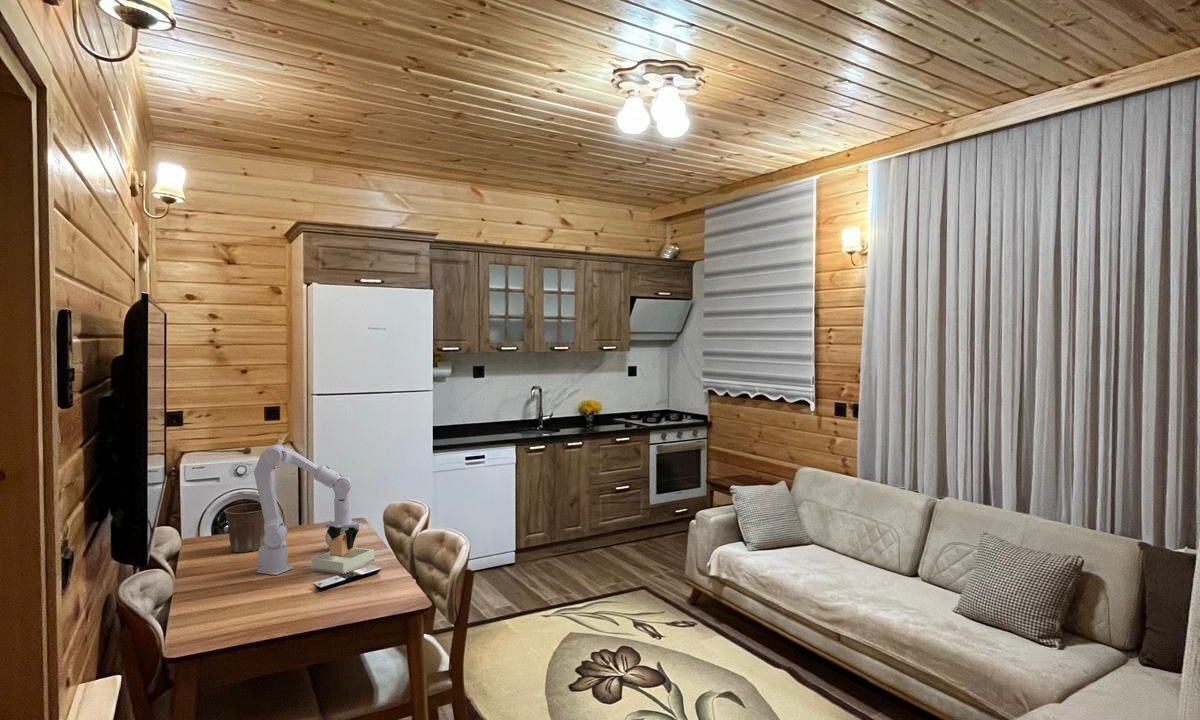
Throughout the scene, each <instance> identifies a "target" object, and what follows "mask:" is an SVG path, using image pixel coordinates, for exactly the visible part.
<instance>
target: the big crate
mask: <svg viewBox="0 0 1200 720" xmlns="http://www.w3.org/2000/svg"><path fill="white" fill-rule="evenodd" d="M310 560H311V571H315V572H317V571H318V572H324V573H331V574H338V575H345V574H347V573H346V572H348V573H350V572H352V571H354V570H356V569H359V568H361V567H363V566H365V565H368V564H370V563H372V562H375V549H370V548H363V547H362V548H361V547H356V550H355V551H353V552H351V553H349V554H347V555H345V556H343V557H338V556H330V551H328V552H325V553H322V554H320V555H317V556H314V557H312V558H311V559H310ZM371 561H372V562H371ZM367 563H368V564H367ZM349 571H350V572H349ZM344 573H345V574H344Z"/></svg>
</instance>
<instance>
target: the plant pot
mask: <svg viewBox="0 0 1200 720" xmlns="http://www.w3.org/2000/svg"><path fill="white" fill-rule="evenodd" d="M223 513H224V514H225V520H226V522H227V528H228V537H229V545H230V551H231V552H232V551H233V552H232V553H236V552H247V553H249V552H257V551H258V550H259V548H260V547H261V546H263V545H265V544H264V541H263V538H264V534H265V531H264V523H265V521H264V516H263V512H262V507H261V503H260V502H257V503H256V502H255V503H253V502H252V503H251V502H250V503H241V504H236V505H232V506H229V507H227V508H225V509H224V510H223ZM256 550H257V551H256Z"/></svg>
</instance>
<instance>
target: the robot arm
mask: <svg viewBox="0 0 1200 720" xmlns="http://www.w3.org/2000/svg"><path fill="white" fill-rule="evenodd" d="M280 463H281V464H282V465H289V464H292V465H295V467H296V466H297V467H298V468H301V469H302V470H305V471H307V472H308V473H310V474H312V475H313V480H315V481H317V482H319V483H321V484H322V485H324V486H325V487H328V488H329V489H332V491H333V492H334V499H333V504H334V506H333V507H334V512H333V513H334V515H333V516H334V520H332V521H330V520H326V521H324V522H323V527H324V528H327V531H326V533H327V532H328V534H329V535H330V537H331V539H334V538H336V537H338V536H340V532H341V528H348V529H349V530H346V531H345V534H346V537H347V548H348V549H352V548H353V544H354V540H355V537H356V538H357V535H358V533H359V531H360V530H362V529H363V522H357V521H354V520H352V492H351V487H352V480H351V478H350V477H349V476H347V475H343V473H341V472H340V473H339V472H337V471H336V470H334V469H331V468H332V467H331V466H330V465H327V466H326V465H325V464H323V465H317V464H316V463H314V462H313V461H311V460H309V459H308V458H306V457H305V456H303V455H302V454H301V453H299V452H297V451H295V450H293V449H292V448H290V447H288V446H287V447H286V446H285V445H283V444H281V443H275V444H272V445H271V446H269V447H268V448H266V449H265V450H264V451H263V452H262V453H261V454H260V455H259V459H258V461H257V463H256V466H255V468H254V470H253V475H254V479H255V484H256V488H257V494H258V498H259V501H260V502H259V503H261V507H262V512H263V516H264V521H265V523H264V531H265V534H264V538H263V541H264V544H265V545H263V546H261V547H260V548H259V550H257V556H256V557H257V558H256V559H257V561H256V562H257V570H255V573H258V574H265V575H272V576H277V575H280V574H282V573H286V572H288V571H291V570H293V569H294V566H290V565H289V566H288V562H289V561H288V542H287V541H286V537H287V536H288V534H289V533H288V531H289V530H288V527H287V526H286V525H285V524H284V521H283V518H282V517H281V515H280V510H279V506H278V502H277V498H276V493H275V489H274V484H273V479H272V474H271V473H272V471H273V470H274V469H275V468H276V466H277V465H278V464H280ZM353 521H354V522H353ZM328 527H329V529H328Z"/></svg>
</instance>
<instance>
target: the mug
mask: <svg viewBox="0 0 1200 720" xmlns="http://www.w3.org/2000/svg"><path fill="white" fill-rule="evenodd" d="M329 521H333V519H329ZM352 521H353V522H355V521H354V520H352ZM328 529H329V527H327V530H328ZM346 530H349V529H348V528H341V532H340V536H341V535H343V534H345V531H346ZM329 540H332V539H331V537H330V535H329V534H328V532H327V531H326V534H325V543H326V545H327V546H328V548H329V549H330V541H329ZM357 545H358V540H357V539H356V548H358V547H357Z"/></svg>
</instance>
